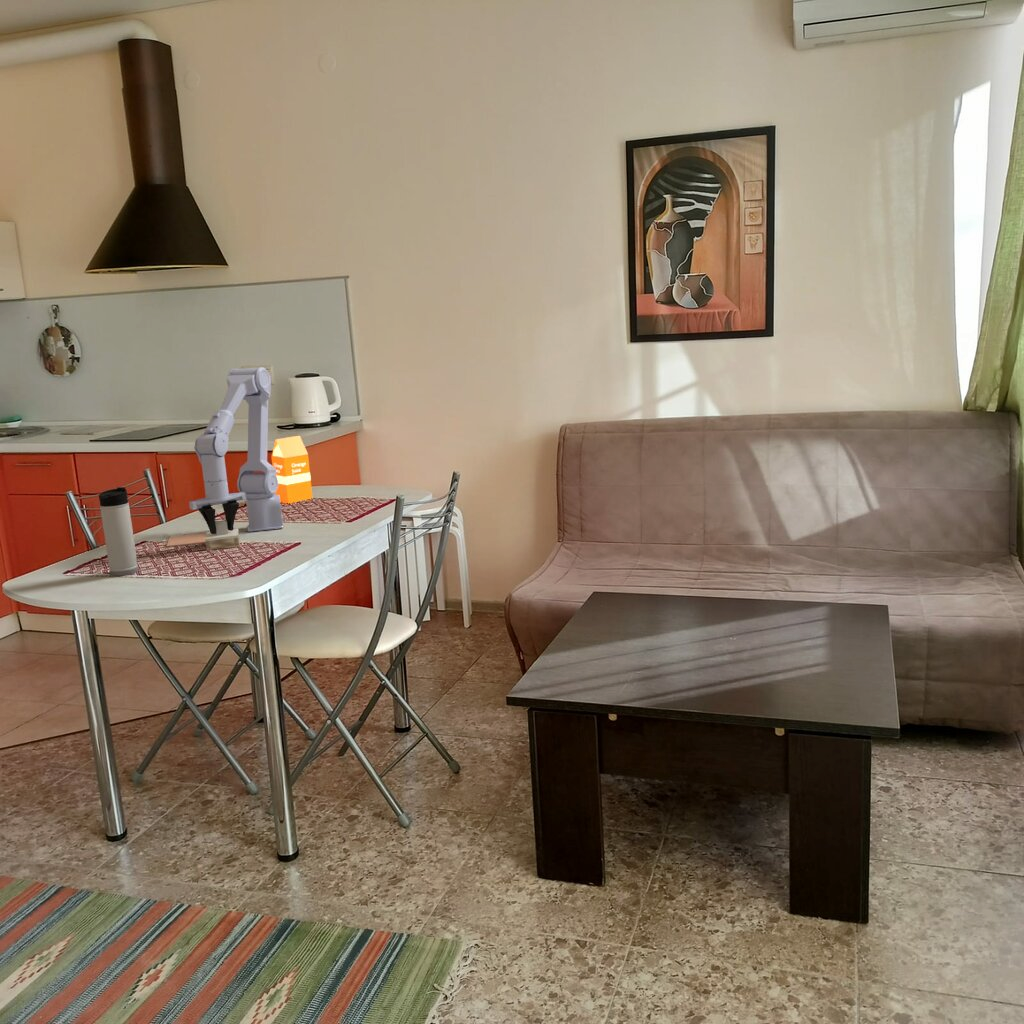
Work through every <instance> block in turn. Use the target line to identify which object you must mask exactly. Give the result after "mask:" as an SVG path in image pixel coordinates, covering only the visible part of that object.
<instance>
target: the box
mask: <svg viewBox="0 0 1024 1024" xmlns="http://www.w3.org/2000/svg"><path fill="white" fill-rule="evenodd" d="M239 533H240V532H238V538H230V539H220V540H211V541H206V543H205V547H206V551H211V550H212V551H213V550H221V549H229V548H237V547H238V548H240V534H239Z"/></svg>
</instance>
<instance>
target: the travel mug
mask: <svg viewBox="0 0 1024 1024" xmlns="http://www.w3.org/2000/svg"><path fill="white" fill-rule="evenodd" d="M128 497H129V496H128V492H127V489H126V487H123V486H121V487H119V486H118V487H116V488H113V489H112V488H111V489H108V490H105V491H104V490H103V491H102V492H100V493H99V494H98V500H99V506H100V507H99V508H100V516H101V521H102V528H103V529H102V530H103V534H104V541H105V548H106V554H107V555H106V556H107V562H108V567H109V569H108V570H109V574H110V576H112V575H113V577H123V576H128V575H132V574H133V575H134V574H135V573H137V572H138V571H139V565H138V557H137V552H136V551H137V550H136V545H135V538H134V532H133V531H134V530H133V523H132V518H131V517H132V515H131V510H130V504H129V499H128Z"/></svg>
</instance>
